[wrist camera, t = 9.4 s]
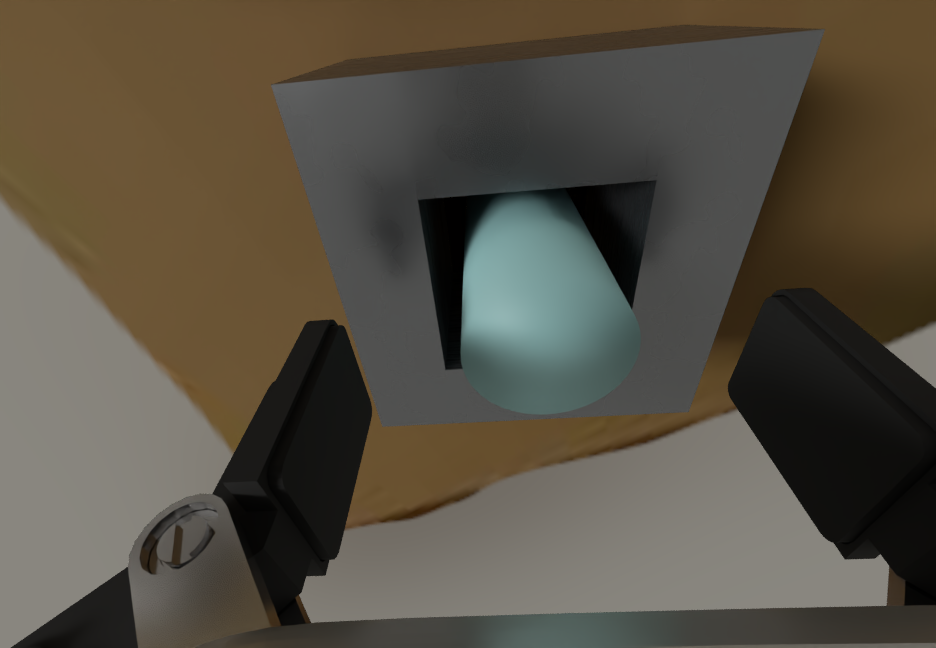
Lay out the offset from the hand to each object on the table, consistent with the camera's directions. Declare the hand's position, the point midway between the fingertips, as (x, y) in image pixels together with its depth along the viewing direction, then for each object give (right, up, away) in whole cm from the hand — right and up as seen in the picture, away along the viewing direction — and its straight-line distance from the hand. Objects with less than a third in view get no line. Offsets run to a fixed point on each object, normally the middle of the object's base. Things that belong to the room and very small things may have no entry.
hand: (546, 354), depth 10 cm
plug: (0, +6, +9) cm, 10 cm away
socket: (0, +6, +9) cm, 10 cm away
